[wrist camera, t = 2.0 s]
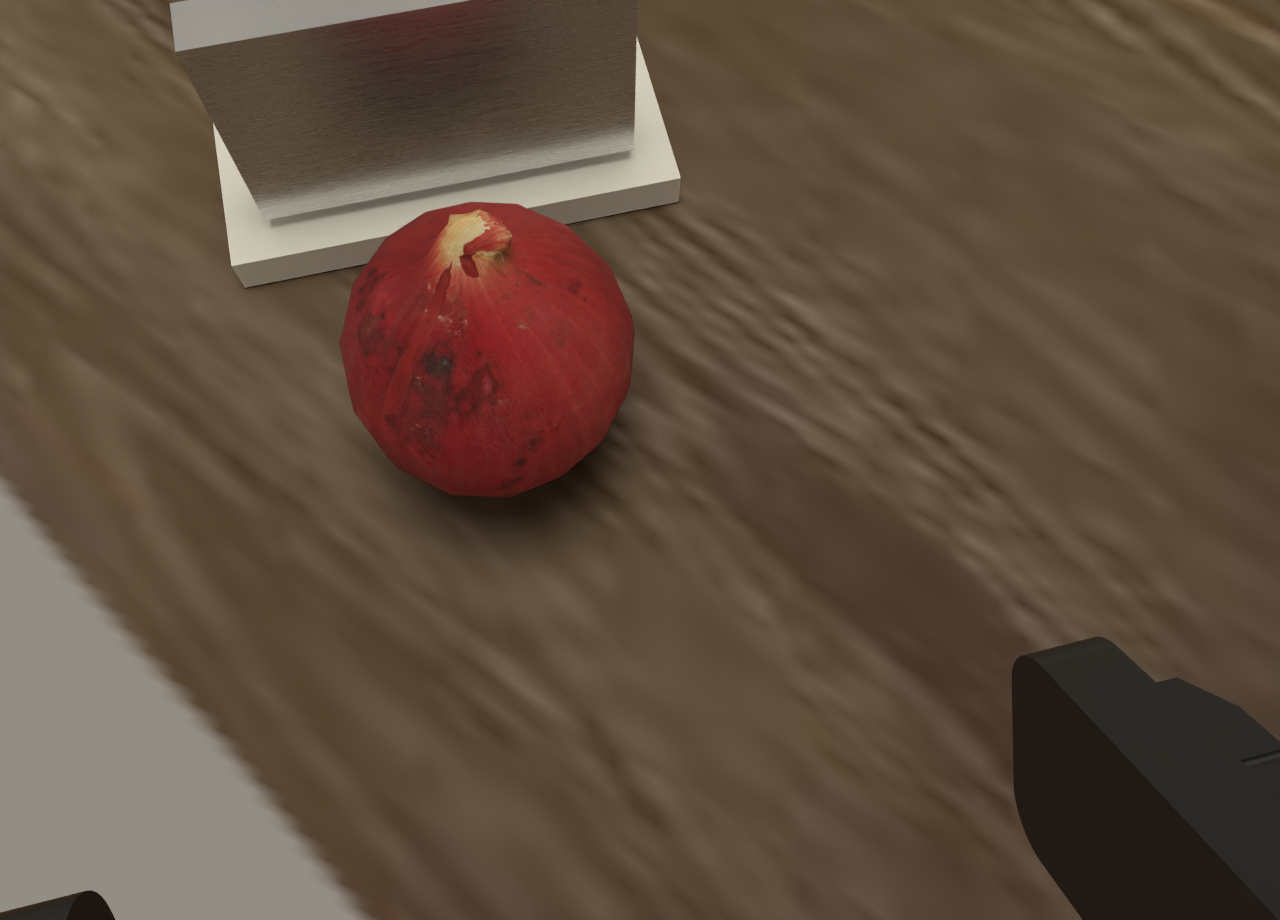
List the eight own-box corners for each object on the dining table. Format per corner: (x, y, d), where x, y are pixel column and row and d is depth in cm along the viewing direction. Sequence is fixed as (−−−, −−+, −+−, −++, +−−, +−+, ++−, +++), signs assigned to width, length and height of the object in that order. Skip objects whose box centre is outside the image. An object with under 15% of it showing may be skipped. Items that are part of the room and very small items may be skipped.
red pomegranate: (558, 584, 24) (533, 450, 17) (335, 476, 25) (216, 302, 18) (670, 372, 26) (692, 167, 19) (460, 279, 27) (400, 47, 19)
